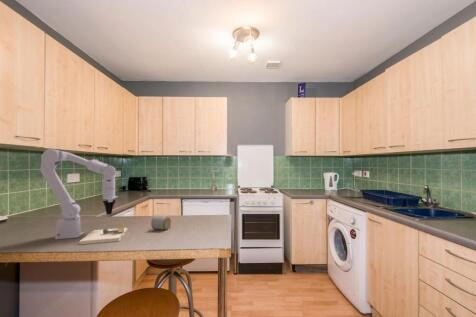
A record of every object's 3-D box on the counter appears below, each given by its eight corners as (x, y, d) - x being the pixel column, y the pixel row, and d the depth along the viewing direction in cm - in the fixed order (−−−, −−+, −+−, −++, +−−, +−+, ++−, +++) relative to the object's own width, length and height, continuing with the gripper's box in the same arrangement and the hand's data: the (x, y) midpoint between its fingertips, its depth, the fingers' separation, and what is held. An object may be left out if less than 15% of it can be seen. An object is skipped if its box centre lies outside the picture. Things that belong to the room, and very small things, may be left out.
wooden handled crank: (102, 233, 114) (102, 223, 114) (103, 232, 116) (103, 222, 116) (122, 232, 116) (122, 221, 116) (123, 231, 118) (123, 220, 118)
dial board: (79, 244, 104) (79, 240, 104) (93, 233, 122) (93, 230, 122) (118, 241, 108) (118, 237, 108) (127, 230, 126) (127, 227, 126)
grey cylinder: (164, 231, 123) (164, 216, 123) (150, 230, 125) (150, 216, 125) (174, 226, 133) (174, 213, 133) (161, 226, 135) (161, 212, 135)
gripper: (119, 189, 120) (119, 215, 120) (116, 186, 132) (115, 211, 132) (103, 189, 116) (103, 217, 116) (101, 187, 129) (101, 212, 128)
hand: (108, 214), depth 124 cm, fingers closed
